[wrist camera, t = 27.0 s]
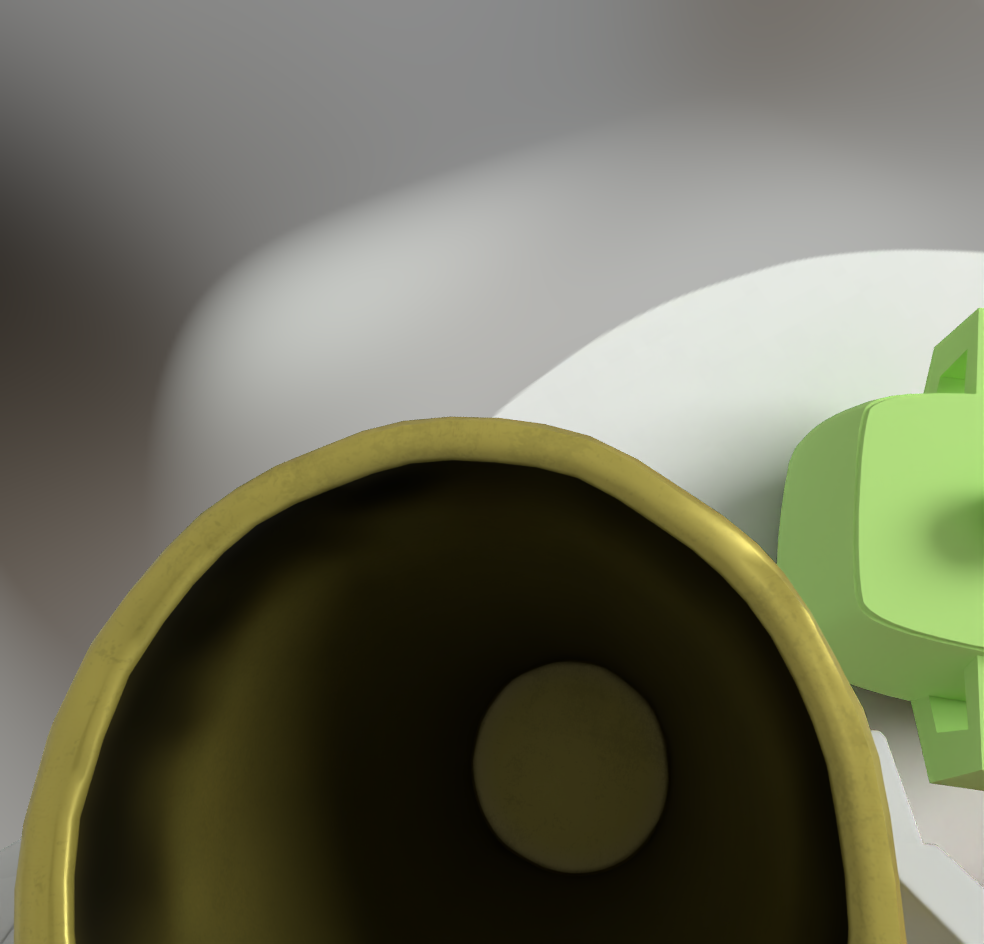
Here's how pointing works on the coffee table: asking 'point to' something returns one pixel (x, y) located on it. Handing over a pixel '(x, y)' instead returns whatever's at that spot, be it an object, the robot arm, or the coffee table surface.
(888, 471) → the teapot
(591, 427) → the coffee table surface
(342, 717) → the vase
